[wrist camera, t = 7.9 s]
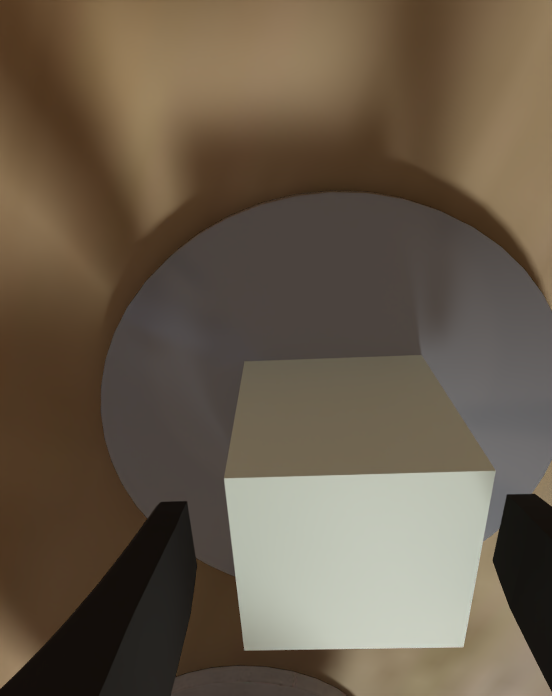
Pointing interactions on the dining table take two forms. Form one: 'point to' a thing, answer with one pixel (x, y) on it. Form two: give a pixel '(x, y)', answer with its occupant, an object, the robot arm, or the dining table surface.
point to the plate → (322, 340)
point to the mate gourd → (250, 683)
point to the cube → (353, 505)
